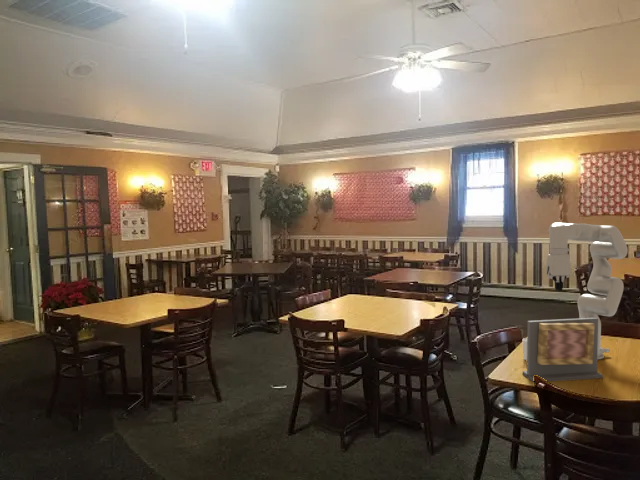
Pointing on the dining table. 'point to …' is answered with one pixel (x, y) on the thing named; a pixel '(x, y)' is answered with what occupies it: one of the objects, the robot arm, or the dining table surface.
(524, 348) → the white cup
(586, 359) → the picture frame
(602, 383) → the dining table surface
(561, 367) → the board
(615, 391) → the dining table surface
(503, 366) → the dining table surface
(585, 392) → the dining table surface
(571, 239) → the robot arm
